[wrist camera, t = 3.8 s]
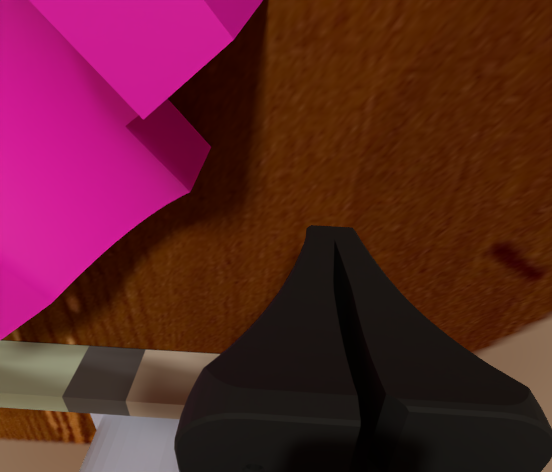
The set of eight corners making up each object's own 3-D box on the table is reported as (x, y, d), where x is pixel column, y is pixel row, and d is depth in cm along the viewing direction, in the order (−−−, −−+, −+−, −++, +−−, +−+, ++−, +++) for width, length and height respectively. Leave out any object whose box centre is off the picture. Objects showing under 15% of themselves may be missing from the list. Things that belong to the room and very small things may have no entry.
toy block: (49, 270, 19) (-71, 423, 13) (-84, 171, 17) (-312, 306, 10) (318, 62, 13) (328, 164, 7) (179, -143, 11) (8, -258, 5)
